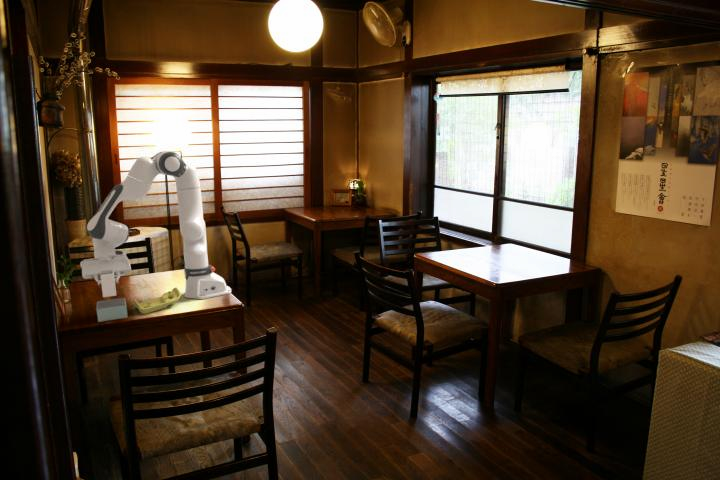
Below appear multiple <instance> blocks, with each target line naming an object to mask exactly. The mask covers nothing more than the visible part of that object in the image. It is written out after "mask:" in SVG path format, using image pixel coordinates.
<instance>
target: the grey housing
mask: <svg viewBox="0 0 720 480" xmlns="http://www.w3.org/2000/svg"><path fill="white" fill-rule="evenodd" d="M100 276H101V277H100V280H101V284H102V285H101V290H102V298H109V297H115V296H117V289H116V286H117V285H116V283H115V278H116V277H115V275H114V271H112V270H108V271H102V273H100Z"/></svg>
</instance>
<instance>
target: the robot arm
mask: <svg viewBox="0 0 720 480" xmlns="http://www.w3.org/2000/svg"><path fill="white" fill-rule="evenodd" d="M160 174H161V175H165V176H170V177H173V178H174V180H175V186H176V196H177V203H178V205H177V206H178V218H179V219H178V221H179V230H180V235H181V236H182V242H183V243H182V245H183V259H184V260H183V261H184V269H183V272H184V278H185V291H184V297H185V298H188V299H198V300H206V299H210V298H214V297H215V298H216V297H219V296H224V295H229V294H231V293H232V288H231V287H230V286H228V285H227V283H226V281H225V279H224V278H223V277H222V276H221V275H219V274H218V273H215V271H216V268H215V267H214V266H213V265H212V264H209V257H208V242H207V230H206V229H207V227H206V221H205V220H204V211H203V210H204V209H203V198H202V188H201V181H200V175H199V173H198V169H197V168H196V166H195V165H193V164H189V163H185V161H184V160H183V158H182V156H180V155H179V154H178V153H177V152H174V151H170V150H164V151H159V152H158V153H156V154H155V155H153V156H152V157H147V156H140V157H138V158H137V159H136V161H135V162H134V163H133V165H132V166H131V168H130V170H129V172H128V174H127V176H126V177H125V178H124V180H123V181H122V182H120V183H119V184H116V185H115V186H114V187H113V188H112V189H111V190H110V192H109V193H108V194H107V196H106V197H105V199H104V201H103V202H102V204H101V205H100V206H99V208H98V209H97V211H96V212H95V214H94V215H93V216H92V217H91V218H90V219H89V221H88V222H87V224H86V231H87V233H88V235H89V237H90V238H91V239H92V246H93V248H94V250H93V256H94V258H88V259H87V258H86V259H85V258H84V259H83V260H82V261H80V263H79V265H80V268H81V276H82V278H83V279H84V280H88V279H94V280H95V282H96V283H97V285H98V286H102V284H101V279H99V278H101V276H100V273H102V271H108V270H112V271H114V276H116V277H115V284H119V280H120V278H121V275H127V274H128V275H129V274H131V272H132V267H131V262H130V260H129V258H128V256H127V252H126V251H125V250H120V249H116V248H117V247H120V246H121V245H123V244H125V243H126V242H128V240H129V237H130V230H129V227H128V226H127V225H126V224H124V223H121V222H118V221H115V220H112V219H109V217H110V216H111V214H112V212H113V211H114V209H115V208H116V207H117V205H118V204H119V203H120V202H123V201H128V200H129V201H130V200H133V201H134V200H139V199H140V200H141V199H143V198H144V197H145V196H147V195H148V193H149V192H150V189H151V188H152V187H151V186H152V185H153V183H154V179H156V177H157V176H158V175H160Z"/></svg>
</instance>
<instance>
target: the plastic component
mask: <svg viewBox="0 0 720 480" xmlns="http://www.w3.org/2000/svg"><path fill="white" fill-rule="evenodd" d="M181 294H182V293H181V291H180V290H179V289H178V287H174V288H173V289H172V290H170V291H168V292H164V293H163V294H162V295H161V296H160V297H159V296H158V297H155V298H152V299H149V300H146V301H142V302H139V301H138V300H137V298H136V299H133V307H134V309H136V310H138V311H139V313H141V314H142V315H143V314H144V315H147V314H151V313H154V312H157V311H160V310H164V309H166V308H168V306H173V305H174V304H175V303H177V301H179V299H181Z"/></svg>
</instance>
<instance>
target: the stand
mask: <svg viewBox="0 0 720 480" xmlns="http://www.w3.org/2000/svg"><path fill="white" fill-rule="evenodd" d="M127 308H128V307H127V301H126V298H125V297H120V298H113V299H111V298H110V299H107V300H106V299H105V300H99V301H96V315H97V322H98V323H100V322H101V323H102V322H107V321H113V320H119V319H127V318H129V317H128V309H127Z"/></svg>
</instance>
